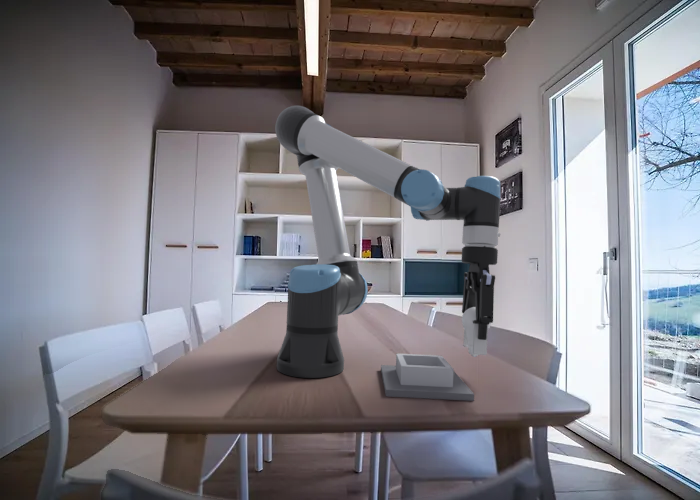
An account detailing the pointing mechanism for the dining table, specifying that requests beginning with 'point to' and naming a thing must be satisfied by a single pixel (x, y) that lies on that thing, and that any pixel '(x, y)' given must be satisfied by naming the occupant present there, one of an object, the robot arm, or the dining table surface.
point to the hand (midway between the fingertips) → (474, 350)
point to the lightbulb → (470, 327)
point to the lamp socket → (423, 378)
